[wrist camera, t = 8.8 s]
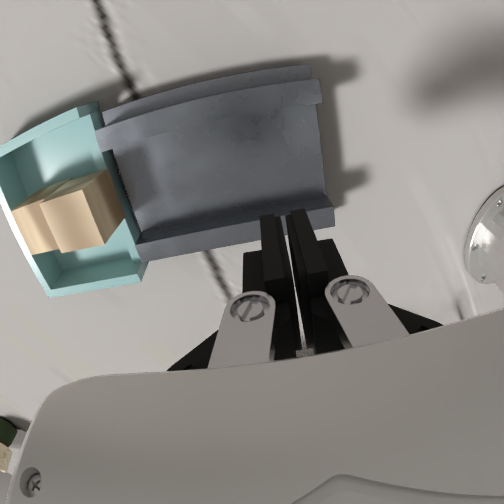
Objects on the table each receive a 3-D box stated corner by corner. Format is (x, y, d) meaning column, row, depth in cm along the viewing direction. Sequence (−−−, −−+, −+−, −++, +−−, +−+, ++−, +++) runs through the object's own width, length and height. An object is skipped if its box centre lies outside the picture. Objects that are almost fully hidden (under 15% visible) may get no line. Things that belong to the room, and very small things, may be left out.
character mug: (9, 416, 46) (-7, 462, 35) (29, 432, 50) (16, 477, 39) (-13, 412, 47) (-28, 453, 36) (5, 428, 51) (-7, 468, 40)
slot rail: (302, 64, 19) (316, 63, 16) (322, 214, 25) (335, 238, 22) (111, 108, 20) (89, 116, 16) (156, 245, 26) (146, 273, 23)
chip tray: (97, 100, 19) (76, 107, 16) (150, 257, 27) (141, 281, 24) (6, 144, 20) (-17, 156, 17) (63, 275, 27) (48, 297, 24)
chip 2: (108, 168, 20) (82, 189, 17) (125, 216, 23) (104, 244, 19) (67, 181, 21) (39, 203, 18) (84, 226, 23) (61, 253, 20)
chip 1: (44, 198, 18) (10, 211, 19) (65, 247, 20) (31, 255, 21) (71, 177, 21) (37, 189, 22) (88, 221, 24) (54, 230, 24)
